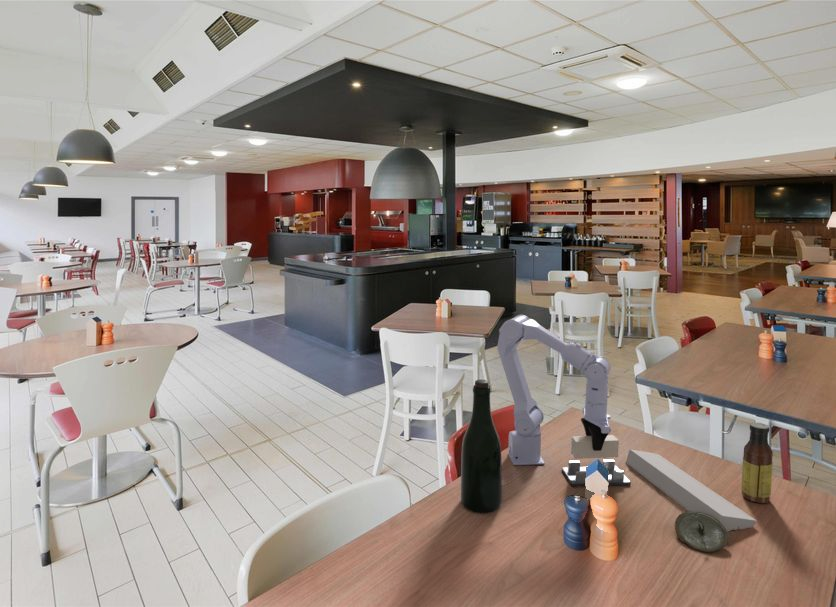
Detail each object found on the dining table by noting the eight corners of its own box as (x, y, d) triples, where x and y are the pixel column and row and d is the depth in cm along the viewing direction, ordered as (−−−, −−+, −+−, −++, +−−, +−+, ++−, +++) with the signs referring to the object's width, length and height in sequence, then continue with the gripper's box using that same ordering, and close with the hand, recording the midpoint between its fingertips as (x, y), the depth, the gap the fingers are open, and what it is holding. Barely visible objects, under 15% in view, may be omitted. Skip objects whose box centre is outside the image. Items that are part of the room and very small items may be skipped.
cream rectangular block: (575, 458, 135) (576, 441, 134) (571, 452, 139) (571, 436, 138) (617, 457, 136) (618, 440, 135) (612, 451, 139) (613, 435, 138)
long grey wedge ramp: (653, 468, 147) (625, 464, 145) (657, 454, 146) (629, 449, 144) (750, 539, 114) (715, 534, 112) (756, 520, 113) (722, 515, 111)
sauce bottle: (768, 495, 126) (776, 423, 123) (771, 507, 121) (779, 432, 118) (738, 488, 130) (745, 418, 126) (739, 500, 124) (747, 427, 121)
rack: (572, 487, 132) (572, 475, 131) (561, 470, 141) (562, 459, 140) (630, 485, 132) (631, 473, 132) (616, 468, 141) (617, 457, 140)
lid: (729, 536, 110) (731, 516, 110) (725, 560, 102) (727, 539, 102) (677, 520, 117) (679, 501, 116) (670, 542, 109) (671, 521, 108)
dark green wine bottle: (508, 500, 126) (510, 378, 121) (490, 520, 118) (491, 390, 112) (472, 488, 132) (472, 372, 127) (453, 507, 123) (452, 383, 118)
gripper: (622, 410, 127) (619, 458, 130) (599, 391, 142) (598, 435, 144) (595, 411, 127) (593, 459, 129) (576, 392, 142) (574, 436, 144)
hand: (594, 446), depth 137 cm, fingers closed on cream rectangular block, 3 cm apart
